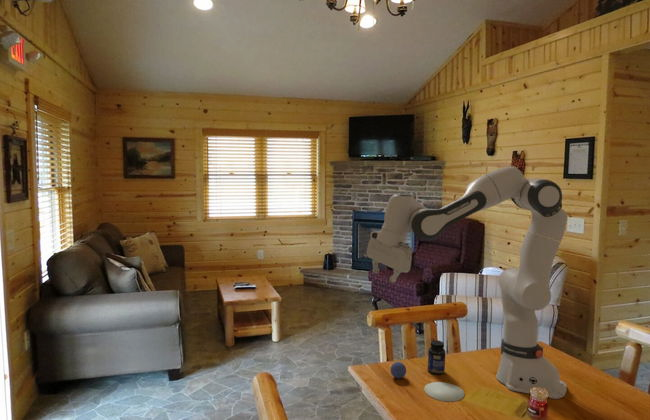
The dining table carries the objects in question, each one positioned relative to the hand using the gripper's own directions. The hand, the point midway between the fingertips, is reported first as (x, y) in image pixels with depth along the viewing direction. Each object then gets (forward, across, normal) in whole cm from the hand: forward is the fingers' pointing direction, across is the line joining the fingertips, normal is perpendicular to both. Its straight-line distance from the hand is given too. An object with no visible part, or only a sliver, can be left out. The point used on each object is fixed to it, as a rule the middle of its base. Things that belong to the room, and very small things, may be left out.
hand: (383, 277), depth 159 cm
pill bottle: (+32, -10, -26) cm, 43 cm away
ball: (+32, -7, -10) cm, 34 cm away
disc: (+32, -23, -17) cm, 43 cm away
